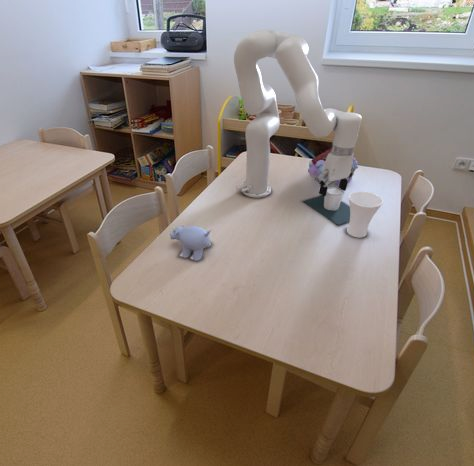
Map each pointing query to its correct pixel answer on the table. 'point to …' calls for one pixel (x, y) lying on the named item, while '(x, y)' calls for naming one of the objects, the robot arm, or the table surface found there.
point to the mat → (335, 216)
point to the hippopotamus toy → (192, 240)
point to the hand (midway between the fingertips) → (332, 192)
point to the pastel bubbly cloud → (318, 164)
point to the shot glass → (333, 198)
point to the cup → (362, 212)
